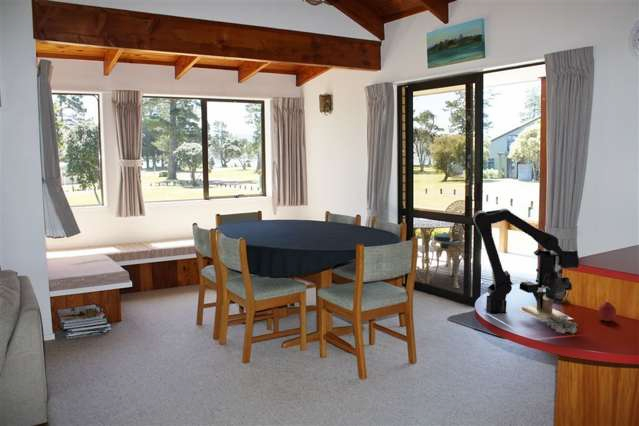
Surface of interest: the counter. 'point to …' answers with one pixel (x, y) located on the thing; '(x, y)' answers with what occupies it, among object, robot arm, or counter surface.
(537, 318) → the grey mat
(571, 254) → the robot arm
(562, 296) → the ceramic mug
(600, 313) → the onion
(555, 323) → the grey jagged ring sculpture
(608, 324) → the counter surface
